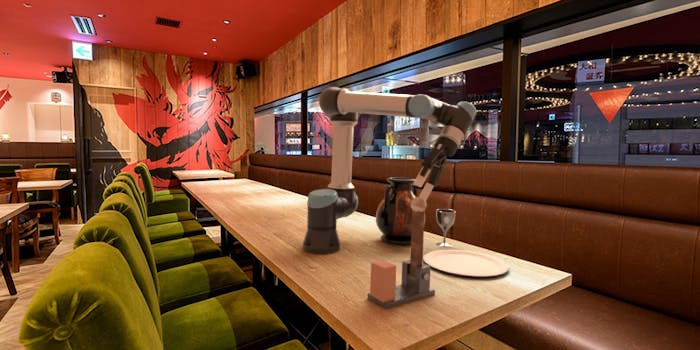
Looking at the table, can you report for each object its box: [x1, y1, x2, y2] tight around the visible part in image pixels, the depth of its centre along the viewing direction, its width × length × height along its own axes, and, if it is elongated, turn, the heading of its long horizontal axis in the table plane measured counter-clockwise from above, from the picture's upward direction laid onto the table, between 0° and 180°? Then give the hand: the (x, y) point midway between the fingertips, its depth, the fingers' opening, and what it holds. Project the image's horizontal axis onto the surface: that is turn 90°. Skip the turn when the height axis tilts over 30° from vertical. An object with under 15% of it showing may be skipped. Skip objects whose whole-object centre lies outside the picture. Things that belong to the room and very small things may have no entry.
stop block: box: [369, 259, 397, 302], centre depth 95 cm, size 4×6×9 cm
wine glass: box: [435, 208, 456, 248], centre depth 154 cm, size 8×8×15 cm
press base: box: [367, 259, 436, 310], centre depth 99 cm, size 18×9×8 cm, turn 124°
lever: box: [409, 196, 428, 278], centre depth 101 cm, size 4×4×23 cm
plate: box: [422, 249, 510, 278], centre depth 129 cm, size 29×29×2 cm
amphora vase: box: [375, 176, 426, 247], centre depth 157 cm, size 22×22×28 cm
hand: (419, 193), depth 120 cm, fingers open, 13 cm apart
